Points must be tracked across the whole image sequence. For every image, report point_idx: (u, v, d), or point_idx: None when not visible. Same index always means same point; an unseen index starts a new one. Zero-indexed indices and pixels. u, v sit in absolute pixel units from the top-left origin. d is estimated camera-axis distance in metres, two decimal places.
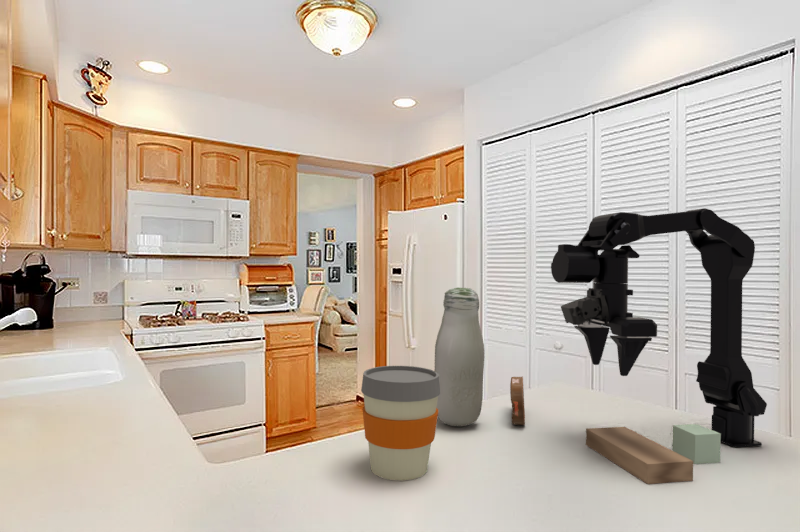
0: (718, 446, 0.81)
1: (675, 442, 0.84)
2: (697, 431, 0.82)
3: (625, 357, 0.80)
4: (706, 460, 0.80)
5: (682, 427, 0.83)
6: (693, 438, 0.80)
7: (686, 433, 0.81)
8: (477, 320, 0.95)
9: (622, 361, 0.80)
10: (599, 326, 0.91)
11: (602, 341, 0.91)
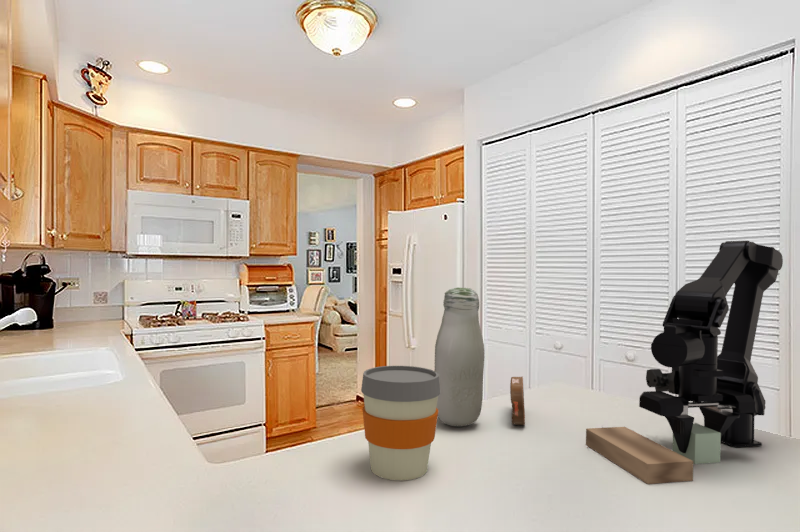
0: (718, 445, 0.81)
1: (675, 441, 0.84)
2: (697, 430, 0.82)
3: (675, 432, 0.82)
4: (706, 459, 0.80)
5: None
6: (693, 437, 0.80)
7: None
8: (477, 320, 0.95)
9: (674, 435, 0.83)
10: (719, 411, 0.82)
11: (717, 428, 0.82)
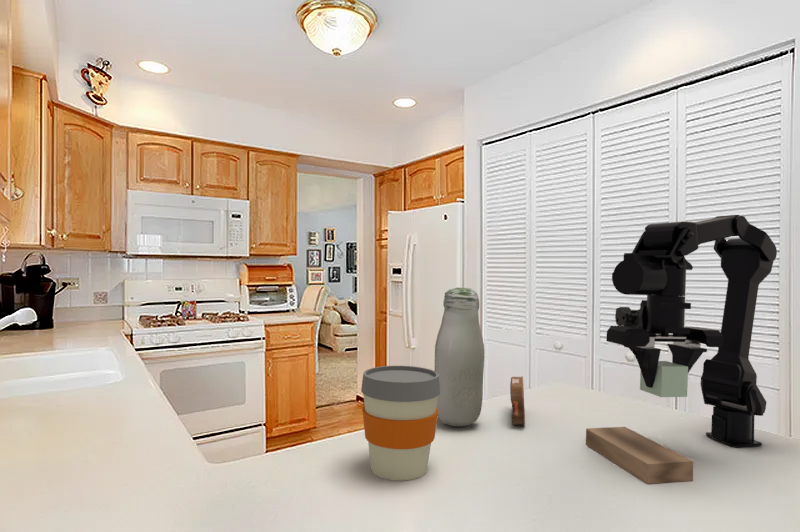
0: (685, 379, 0.79)
1: (642, 377, 0.82)
2: (664, 364, 0.80)
3: (642, 367, 0.81)
4: (673, 393, 0.79)
5: None
6: (660, 370, 0.79)
7: None
8: (477, 320, 0.95)
9: (641, 370, 0.81)
10: (687, 346, 0.81)
11: (685, 363, 0.80)
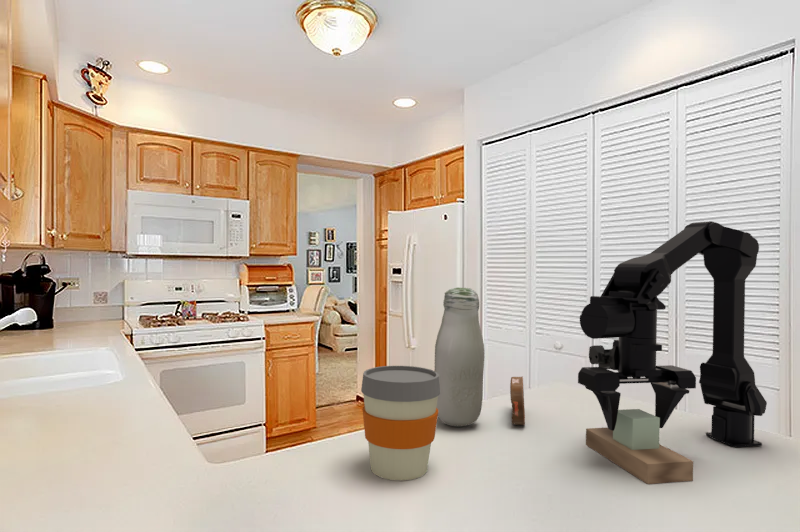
0: (657, 431, 0.78)
1: (615, 427, 0.82)
2: (636, 415, 0.79)
3: (603, 409, 0.80)
4: (644, 445, 0.78)
5: (622, 412, 0.81)
6: (631, 422, 0.78)
7: (625, 418, 0.79)
8: (477, 320, 0.95)
9: (603, 412, 0.80)
10: (669, 387, 0.80)
11: (667, 404, 0.80)
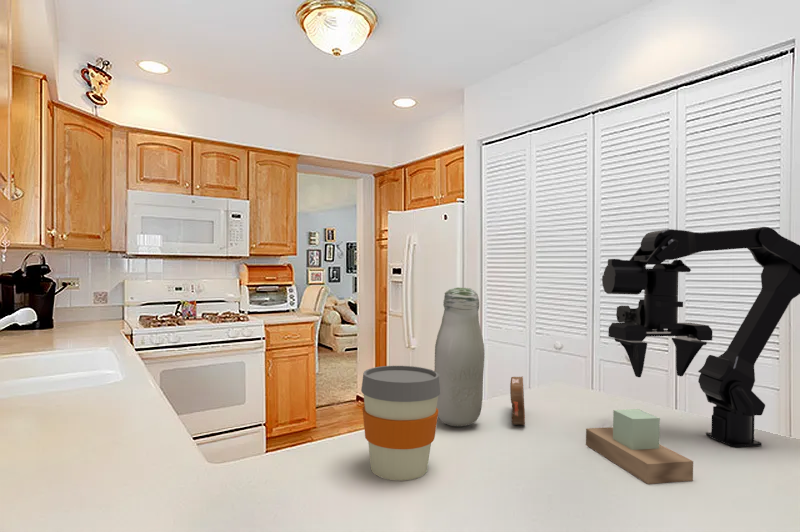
0: (657, 431, 0.78)
1: (615, 427, 0.82)
2: (636, 415, 0.79)
3: (631, 359, 0.91)
4: (644, 445, 0.78)
5: (622, 412, 0.81)
6: (631, 422, 0.78)
7: (625, 418, 0.79)
8: (477, 320, 0.95)
9: (631, 362, 0.91)
10: (689, 340, 0.92)
11: (687, 355, 0.91)
